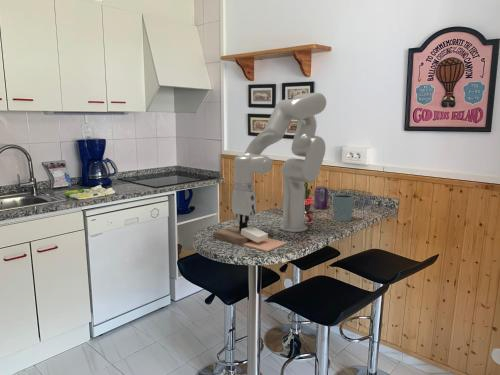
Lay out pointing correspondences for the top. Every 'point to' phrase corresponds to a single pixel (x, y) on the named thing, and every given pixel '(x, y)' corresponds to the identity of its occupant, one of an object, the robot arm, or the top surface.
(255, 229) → the tile
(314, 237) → the top surface
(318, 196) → the beverage can
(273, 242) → the mat
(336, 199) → the grey-blue bin
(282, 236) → the top surface
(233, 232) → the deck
